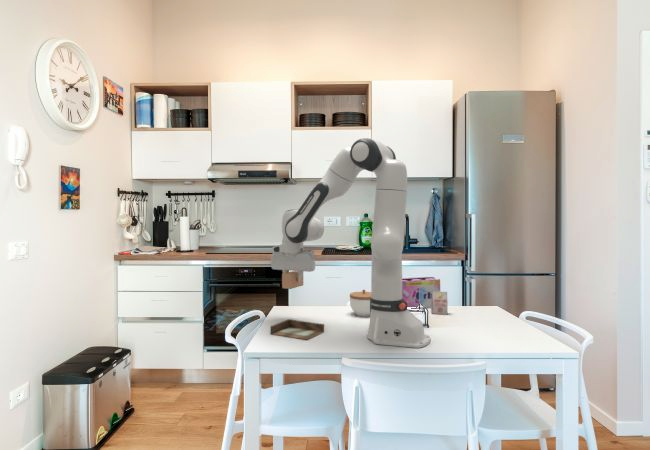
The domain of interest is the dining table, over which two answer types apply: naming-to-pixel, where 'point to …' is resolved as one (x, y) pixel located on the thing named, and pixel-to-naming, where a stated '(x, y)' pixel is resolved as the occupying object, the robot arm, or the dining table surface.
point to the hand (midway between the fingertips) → (292, 281)
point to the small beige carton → (439, 303)
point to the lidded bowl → (360, 303)
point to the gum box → (419, 290)
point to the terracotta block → (291, 280)
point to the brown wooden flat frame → (297, 329)
